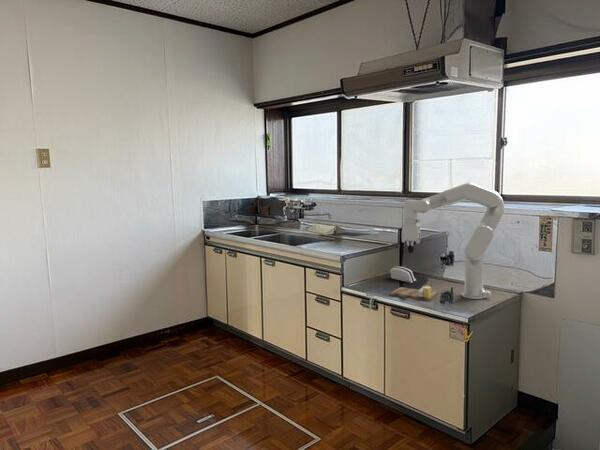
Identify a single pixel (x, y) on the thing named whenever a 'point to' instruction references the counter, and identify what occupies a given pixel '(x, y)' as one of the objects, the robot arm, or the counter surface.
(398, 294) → the brown wooden board
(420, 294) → the latch bar
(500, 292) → the counter surface
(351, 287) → the counter surface
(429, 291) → the keeper block
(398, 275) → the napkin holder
